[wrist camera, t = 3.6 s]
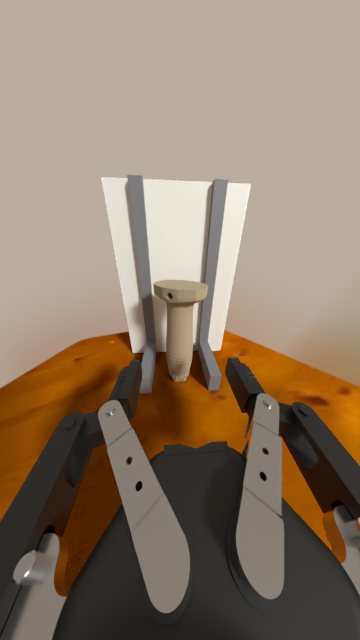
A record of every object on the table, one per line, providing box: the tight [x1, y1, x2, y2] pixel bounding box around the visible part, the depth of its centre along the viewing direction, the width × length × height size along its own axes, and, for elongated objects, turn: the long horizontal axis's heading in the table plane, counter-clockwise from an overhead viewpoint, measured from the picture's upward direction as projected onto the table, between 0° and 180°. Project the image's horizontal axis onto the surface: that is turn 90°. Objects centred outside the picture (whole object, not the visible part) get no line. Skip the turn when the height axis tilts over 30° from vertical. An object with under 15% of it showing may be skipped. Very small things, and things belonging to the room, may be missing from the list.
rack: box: [101, 175, 251, 394], centre depth 19 cm, size 18×10×26 cm, turn 94°
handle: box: [153, 280, 208, 382], centre depth 19 cm, size 5×6×15 cm
